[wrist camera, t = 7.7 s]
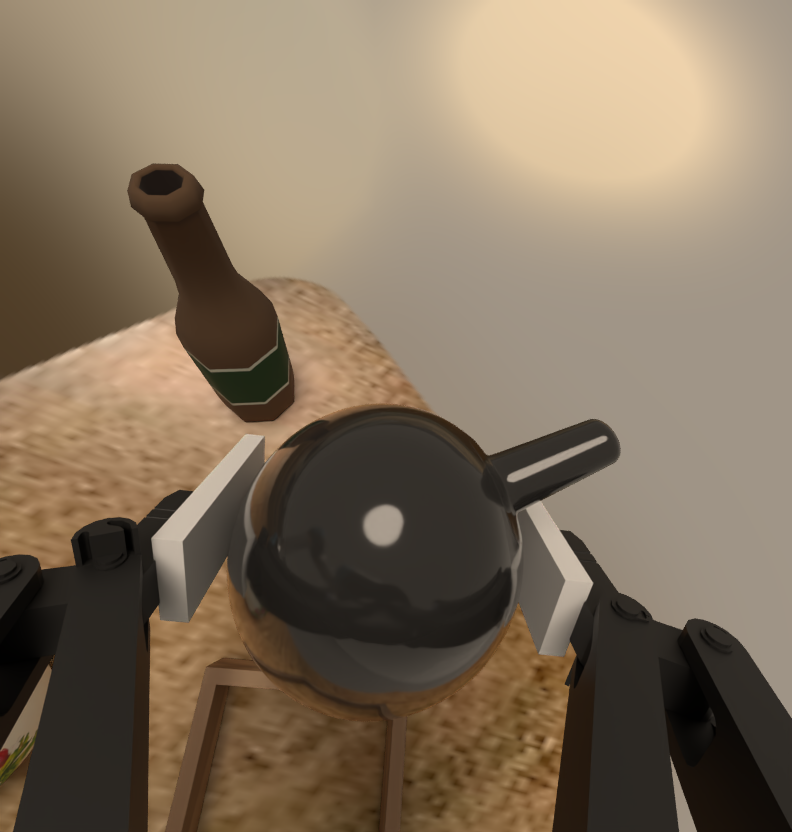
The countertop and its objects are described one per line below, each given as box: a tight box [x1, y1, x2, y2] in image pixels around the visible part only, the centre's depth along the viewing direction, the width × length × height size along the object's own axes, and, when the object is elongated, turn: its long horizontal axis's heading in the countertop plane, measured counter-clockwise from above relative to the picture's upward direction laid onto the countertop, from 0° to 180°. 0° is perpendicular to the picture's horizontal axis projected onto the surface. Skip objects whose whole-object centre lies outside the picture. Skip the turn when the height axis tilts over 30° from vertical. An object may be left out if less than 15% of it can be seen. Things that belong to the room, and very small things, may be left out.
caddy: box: [165, 658, 407, 832], centre depth 27 cm, size 15×15×4 cm
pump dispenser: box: [227, 404, 620, 722], centre depth 13 cm, size 10×10×15 cm
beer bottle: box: [127, 164, 294, 422], centre depth 31 cm, size 8×8×24 cm
